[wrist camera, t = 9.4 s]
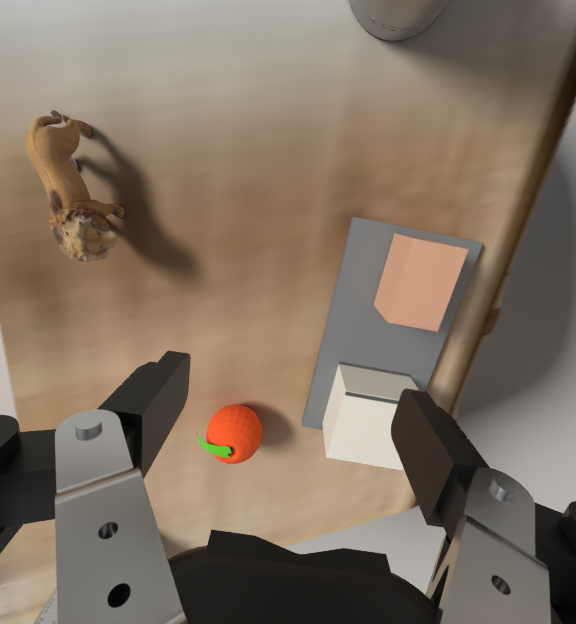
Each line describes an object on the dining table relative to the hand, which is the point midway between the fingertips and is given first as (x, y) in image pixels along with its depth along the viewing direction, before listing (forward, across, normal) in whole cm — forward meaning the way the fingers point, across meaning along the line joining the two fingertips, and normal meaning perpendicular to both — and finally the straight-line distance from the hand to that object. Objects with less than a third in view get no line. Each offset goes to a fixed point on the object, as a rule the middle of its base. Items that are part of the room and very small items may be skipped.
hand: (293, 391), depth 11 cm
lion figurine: (+25, +22, -5) cm, 34 cm away
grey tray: (+25, -12, +7) cm, 28 cm away
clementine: (+25, +5, +21) cm, 33 cm away
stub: (+23, -12, -2) cm, 26 cm away
